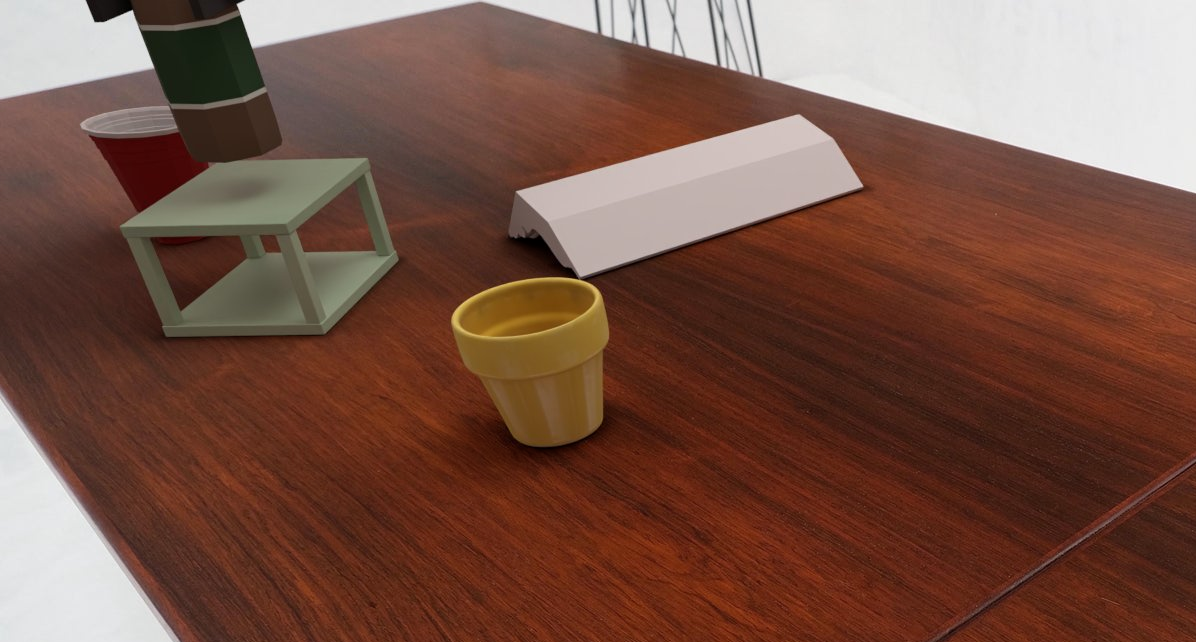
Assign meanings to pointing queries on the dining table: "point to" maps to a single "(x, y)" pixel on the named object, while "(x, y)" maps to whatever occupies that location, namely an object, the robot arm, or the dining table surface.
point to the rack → (264, 280)
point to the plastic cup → (145, 155)
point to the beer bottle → (209, 80)
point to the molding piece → (683, 195)
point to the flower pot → (538, 355)
